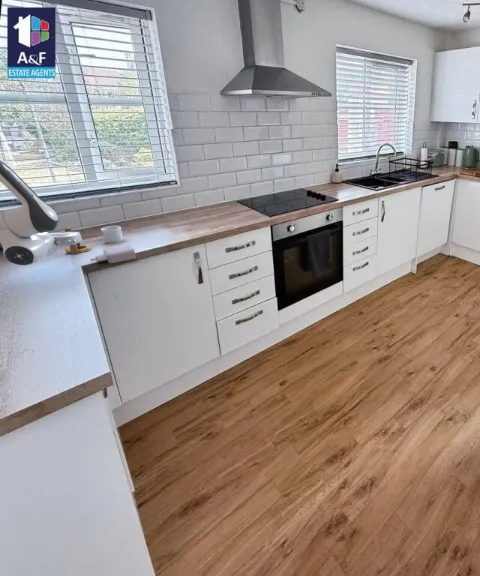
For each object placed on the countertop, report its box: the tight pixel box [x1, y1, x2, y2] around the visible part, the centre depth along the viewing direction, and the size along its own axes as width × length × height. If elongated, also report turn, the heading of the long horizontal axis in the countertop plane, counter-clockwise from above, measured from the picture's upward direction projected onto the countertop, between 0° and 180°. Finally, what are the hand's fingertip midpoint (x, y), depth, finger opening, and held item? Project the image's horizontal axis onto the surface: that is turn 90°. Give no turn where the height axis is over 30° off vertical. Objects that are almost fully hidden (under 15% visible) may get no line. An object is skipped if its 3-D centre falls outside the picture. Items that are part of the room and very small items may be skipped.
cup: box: [100, 225, 124, 244], centre depth 178 cm, size 11×8×8 cm
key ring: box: [64, 227, 92, 255], centre depth 162 cm, size 10×8×11 cm
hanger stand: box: [65, 229, 90, 256], centre depth 163 cm, size 8×8×10 cm
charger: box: [89, 244, 137, 264], centre depth 154 cm, size 5×9×15 cm
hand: (54, 234), depth 145 cm, fingers open, 8 cm apart
